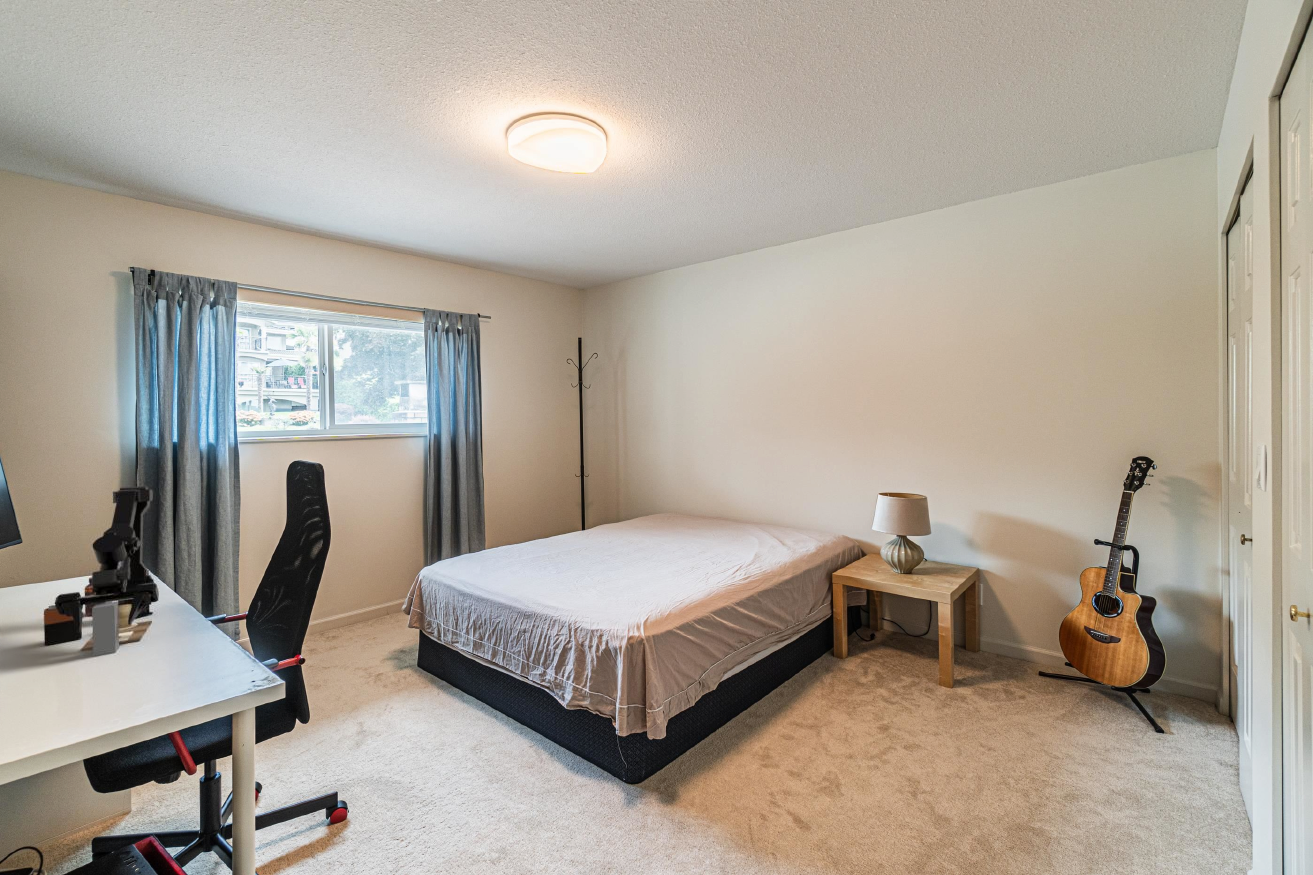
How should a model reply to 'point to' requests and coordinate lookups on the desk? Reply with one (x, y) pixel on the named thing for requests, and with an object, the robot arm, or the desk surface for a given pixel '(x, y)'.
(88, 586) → the supplement bottle
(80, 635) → the battery
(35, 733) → the desk surface
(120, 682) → the desk surface
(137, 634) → the board
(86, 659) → the desk surface
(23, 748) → the desk surface
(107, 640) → the leg
